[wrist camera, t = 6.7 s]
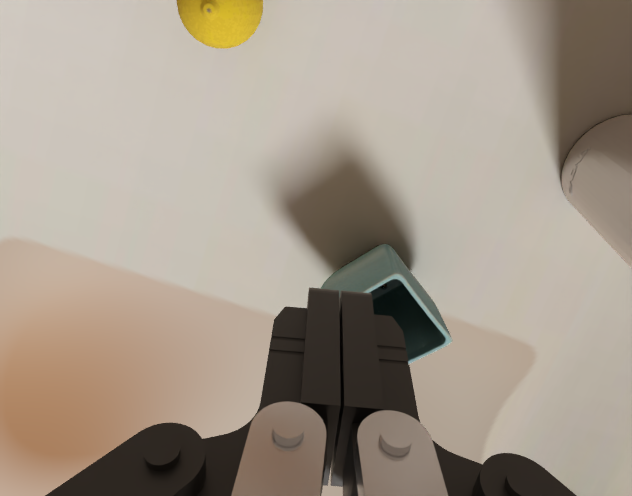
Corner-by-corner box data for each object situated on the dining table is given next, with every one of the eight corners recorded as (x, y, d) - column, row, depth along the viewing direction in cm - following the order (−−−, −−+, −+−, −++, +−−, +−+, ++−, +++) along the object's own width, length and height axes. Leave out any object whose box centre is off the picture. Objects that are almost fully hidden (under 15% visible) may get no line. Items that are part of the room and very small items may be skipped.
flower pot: (310, 264, 49) (307, 324, 41) (387, 217, 46) (399, 271, 38) (361, 321, 52) (367, 386, 45) (435, 281, 49) (455, 342, 42)
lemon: (183, 17, 38) (151, 32, 31) (208, -61, 35) (179, -63, 28) (251, 51, 39) (235, 74, 32) (280, -21, 36) (269, -14, 29)
